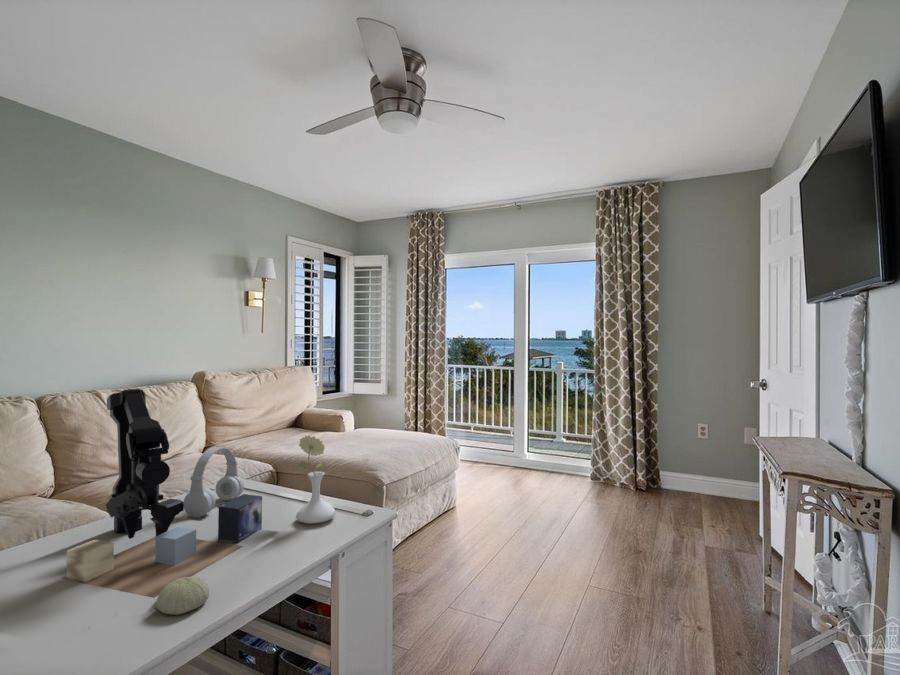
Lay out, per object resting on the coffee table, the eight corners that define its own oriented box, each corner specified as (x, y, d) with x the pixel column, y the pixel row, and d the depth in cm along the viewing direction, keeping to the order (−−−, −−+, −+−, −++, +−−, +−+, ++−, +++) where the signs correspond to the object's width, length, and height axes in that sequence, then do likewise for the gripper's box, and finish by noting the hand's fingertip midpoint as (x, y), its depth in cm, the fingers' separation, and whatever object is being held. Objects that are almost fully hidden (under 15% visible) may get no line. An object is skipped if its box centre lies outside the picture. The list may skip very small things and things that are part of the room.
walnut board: (60, 584, 101) (60, 578, 101) (162, 538, 125) (162, 533, 125) (154, 603, 93) (154, 597, 93) (243, 550, 117) (243, 546, 117)
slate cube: (155, 536, 109) (175, 539, 107) (177, 526, 114) (196, 529, 113) (155, 561, 109) (174, 565, 107) (177, 550, 114) (196, 554, 113)
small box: (238, 548, 118) (238, 508, 118) (216, 546, 120) (216, 506, 120) (263, 532, 129) (263, 494, 129) (242, 530, 130) (242, 493, 130)
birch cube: (66, 578, 101) (66, 550, 101) (94, 565, 107) (94, 539, 107) (85, 582, 99) (86, 554, 100) (113, 569, 105) (113, 542, 105)
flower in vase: (343, 517, 139) (343, 435, 140) (314, 530, 129) (314, 441, 130) (314, 509, 146) (314, 431, 147) (284, 521, 136) (284, 437, 137)
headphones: (222, 496, 159) (222, 441, 160) (245, 497, 158) (245, 441, 158) (181, 518, 139) (181, 454, 140) (207, 519, 138) (207, 455, 139)
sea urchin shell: (175, 615, 86) (159, 577, 89) (159, 635, 89) (145, 598, 92) (221, 592, 94) (205, 558, 97) (205, 612, 96) (191, 578, 100)
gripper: (84, 483, 109) (83, 549, 109) (143, 490, 103) (143, 559, 103) (129, 470, 120) (129, 531, 119) (185, 476, 114) (185, 539, 114)
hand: (145, 540), depth 114 cm, fingers open, 9 cm apart
